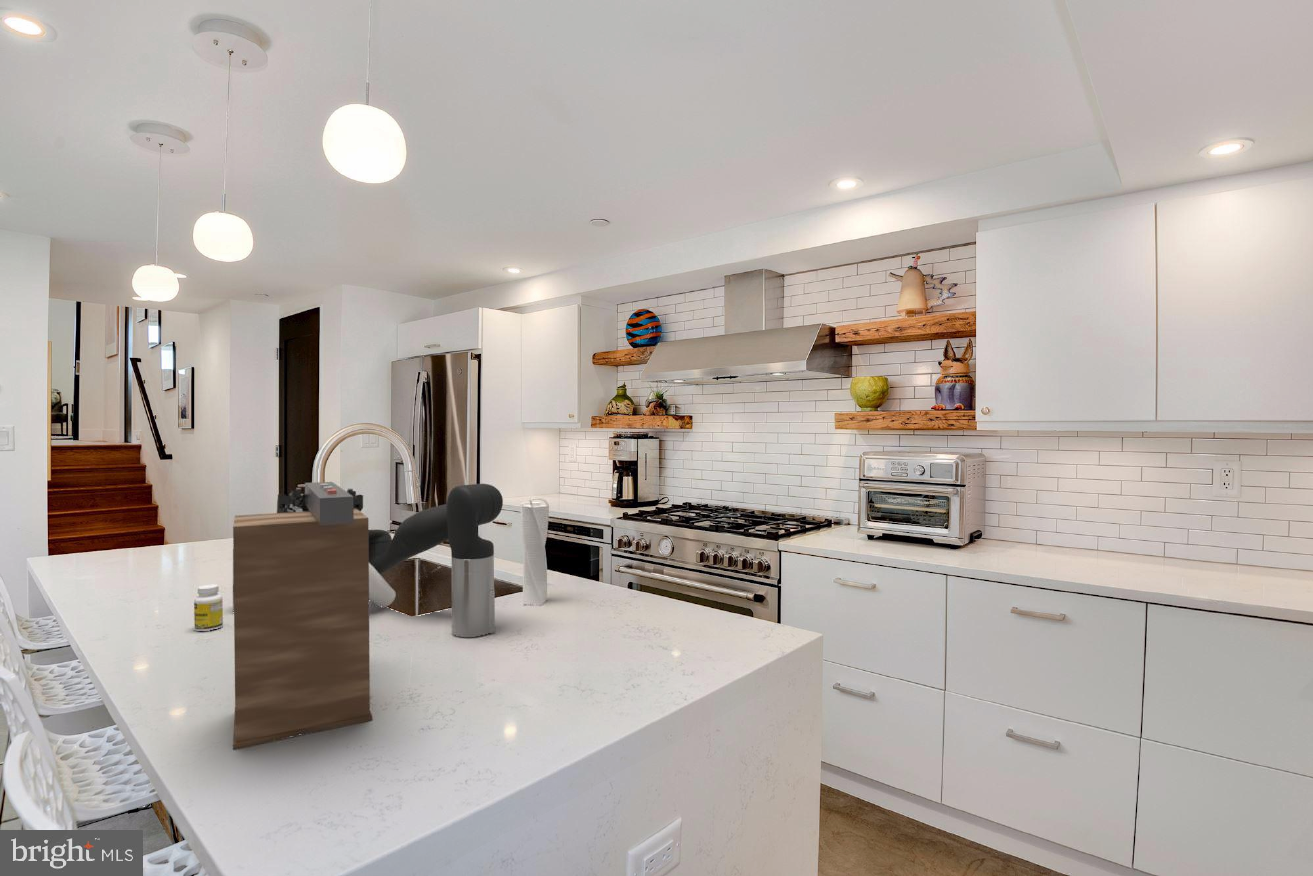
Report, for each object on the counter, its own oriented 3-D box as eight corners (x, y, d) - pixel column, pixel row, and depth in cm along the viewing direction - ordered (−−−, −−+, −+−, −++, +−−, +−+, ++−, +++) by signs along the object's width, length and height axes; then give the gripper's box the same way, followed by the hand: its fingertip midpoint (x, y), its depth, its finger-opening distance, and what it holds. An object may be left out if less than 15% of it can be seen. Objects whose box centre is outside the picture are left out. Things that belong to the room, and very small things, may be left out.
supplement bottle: (188, 630, 152) (188, 587, 152) (212, 624, 157) (212, 582, 157) (204, 633, 150) (204, 590, 150) (228, 626, 155) (227, 584, 155)
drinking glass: (383, 615, 169) (348, 584, 158) (370, 603, 173) (334, 572, 162) (404, 594, 172) (370, 562, 161) (390, 583, 176) (356, 551, 165)
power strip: (305, 504, 123) (304, 480, 123) (332, 503, 126) (332, 479, 125) (319, 525, 98) (319, 494, 97) (353, 523, 100) (353, 493, 100)
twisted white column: (546, 607, 172) (546, 498, 172) (517, 606, 172) (517, 498, 172) (551, 599, 180) (551, 494, 180) (523, 598, 180) (523, 494, 180)
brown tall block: (234, 712, 109) (232, 515, 108) (359, 689, 119) (357, 508, 118) (233, 749, 96) (230, 527, 96) (372, 720, 106) (370, 518, 106)
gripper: (354, 536, 134) (368, 513, 121) (272, 537, 126) (277, 514, 113) (354, 499, 136) (368, 474, 123) (273, 499, 129) (279, 472, 116)
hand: (324, 493), depth 118 cm, fingers open, 8 cm apart
